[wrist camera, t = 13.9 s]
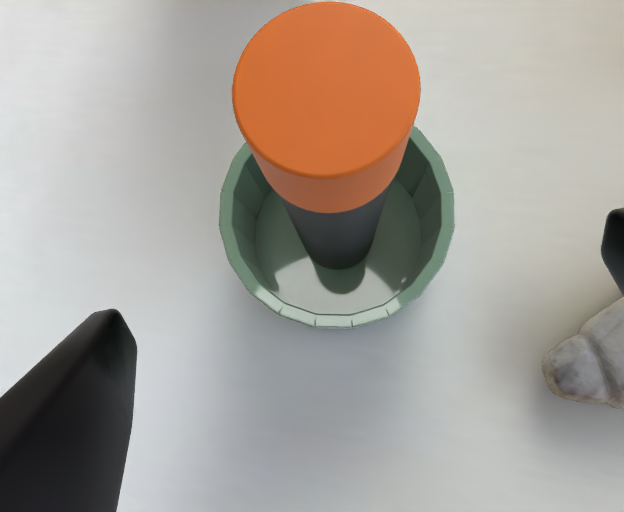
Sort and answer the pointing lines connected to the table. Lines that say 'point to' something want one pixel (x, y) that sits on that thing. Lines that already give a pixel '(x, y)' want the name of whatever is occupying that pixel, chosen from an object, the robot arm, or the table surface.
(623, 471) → the table surface
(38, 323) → the table surface
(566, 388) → the decorative stone
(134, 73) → the table surface
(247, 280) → the pen pot
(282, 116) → the marker
